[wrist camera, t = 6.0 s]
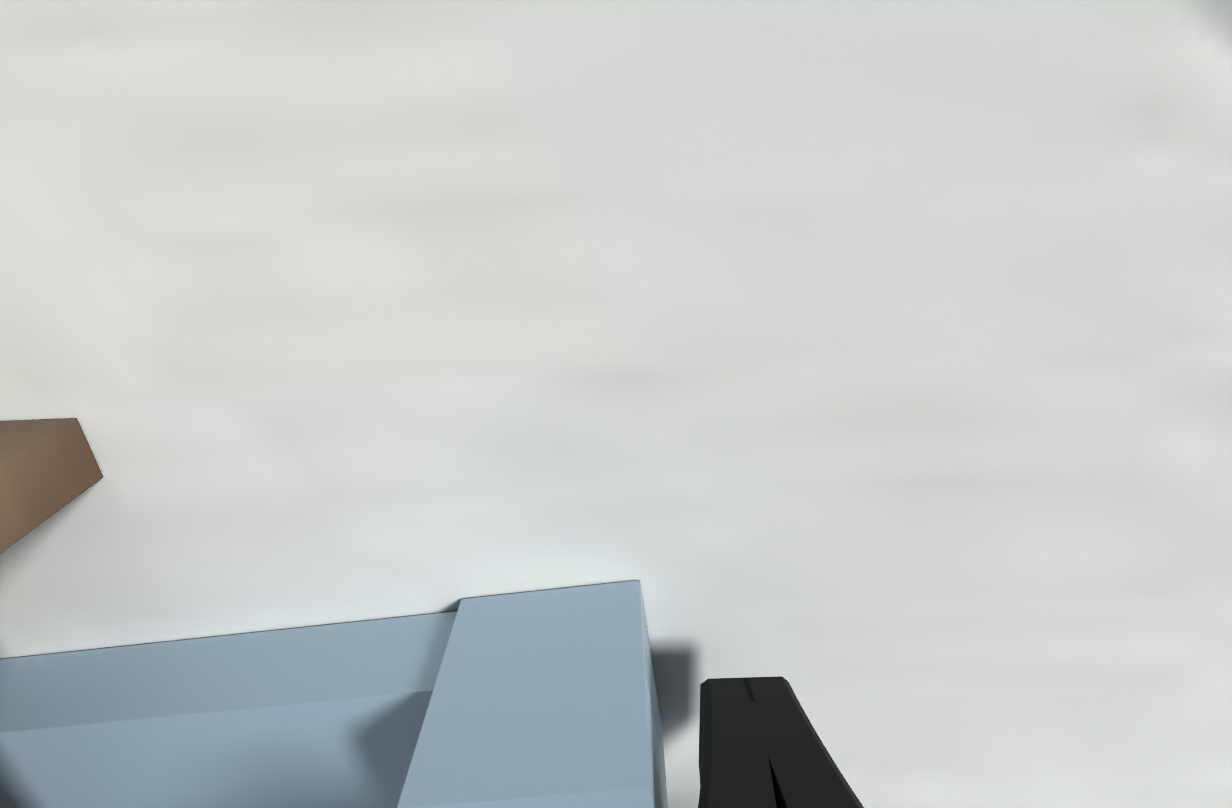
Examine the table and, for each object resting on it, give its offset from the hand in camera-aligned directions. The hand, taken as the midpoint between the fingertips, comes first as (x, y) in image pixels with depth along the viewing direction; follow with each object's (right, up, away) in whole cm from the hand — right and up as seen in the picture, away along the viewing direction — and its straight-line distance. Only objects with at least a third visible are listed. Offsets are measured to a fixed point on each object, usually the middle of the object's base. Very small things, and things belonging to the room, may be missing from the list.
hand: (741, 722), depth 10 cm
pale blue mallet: (-9, 0, +2) cm, 9 cm away
